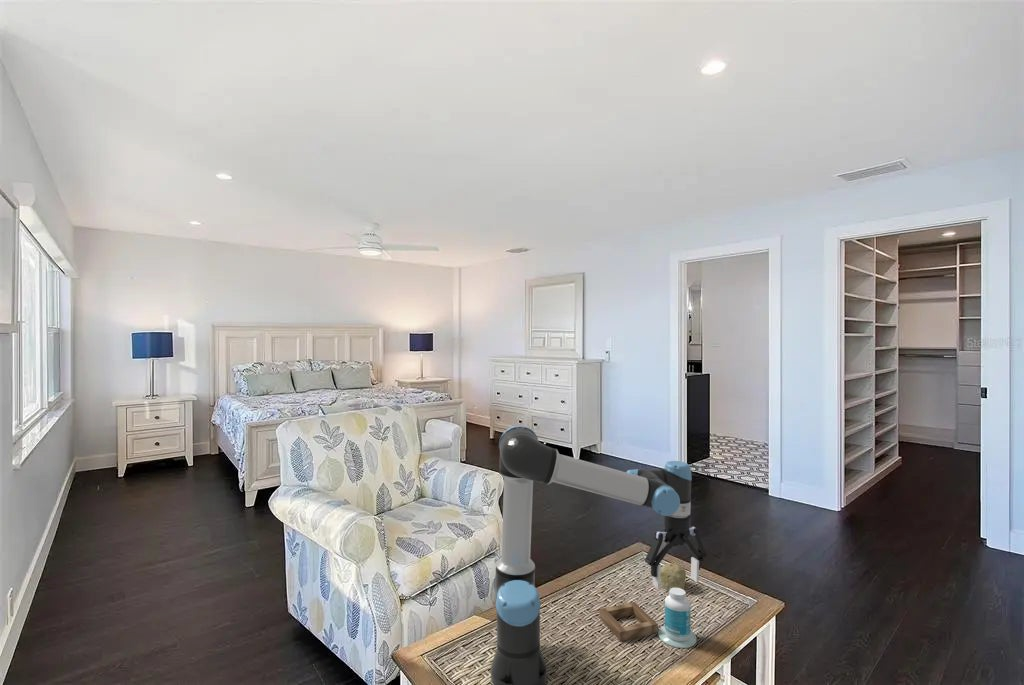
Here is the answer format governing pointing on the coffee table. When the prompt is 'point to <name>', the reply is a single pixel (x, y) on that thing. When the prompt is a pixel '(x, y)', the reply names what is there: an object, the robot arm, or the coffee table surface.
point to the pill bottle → (677, 615)
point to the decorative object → (672, 576)
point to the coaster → (677, 644)
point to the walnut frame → (632, 631)
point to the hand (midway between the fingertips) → (675, 583)
